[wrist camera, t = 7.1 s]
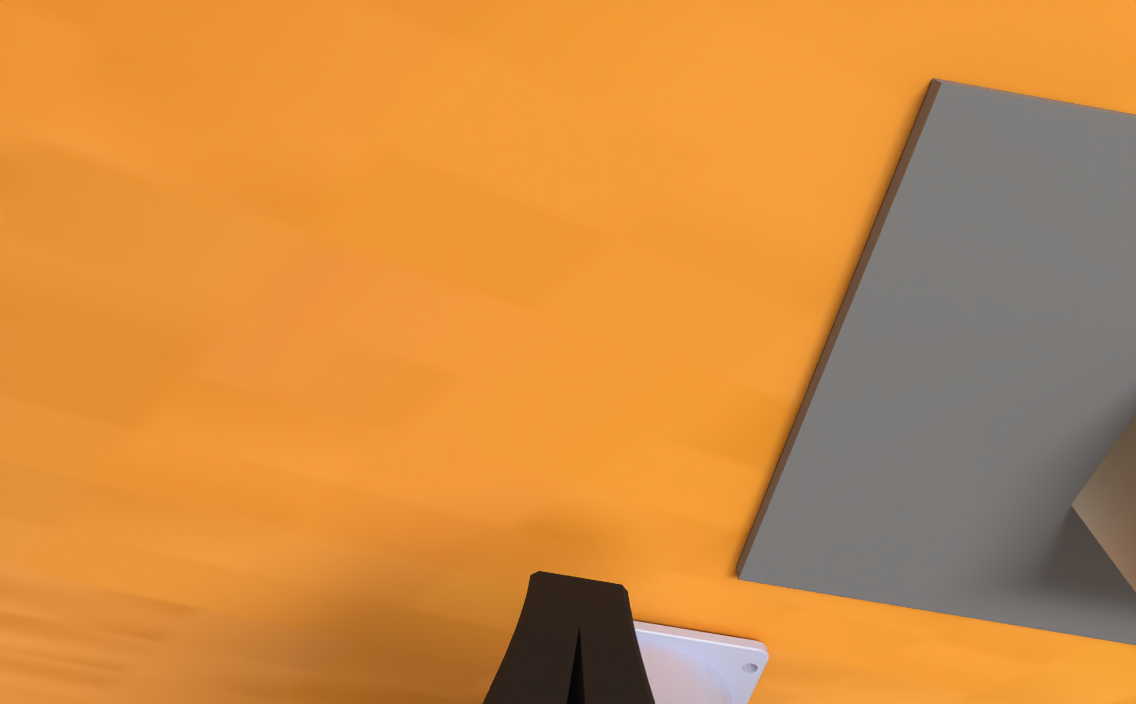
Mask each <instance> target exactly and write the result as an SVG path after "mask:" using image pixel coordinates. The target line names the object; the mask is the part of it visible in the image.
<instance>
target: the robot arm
mask: <svg viewBox="0 0 1136 704" xmlns="http://www.w3.org/2000/svg"><path fill="white" fill-rule="evenodd" d="M768 659H769V655H768V649H767V647H766V645H765V644H763V643H762V642H759V641H755V640H749V639H743V638H737V637H731V636H725V635H719V634H713V633H706V632H700V631H694V630H688V629H682V628H676V627H670V626H664V625H657V624H651V623H645V622H639V621H633V618H632V613H631V608H630V603H629V597H628V591H627V590H626V589H625V588H624V587H623V585H620V584H614V583H608V582H602V581H596V580H590V579H584V578H578V577H572V576H566V575H560V574H554V573H548V572H542V571H538V572H536V573H534V574H532V575H530V581H529V586H528V591H527V595H526V599H525V602H524V606H523V609H522V612H521V615H520V618H519V621H518V624H517V626H516V629H515V632H514V634H513V637H512V639H511V642H510V644H509V647H508V649H507V652H506V654H505V657H504V659H503V661H502V663H501V665H500V667H499V670H498V672H497V674H496V676H495V678H494V680H493V682H492V685H491V687H490V689H489V691H488V693H487V695H486V698H485V700H484V702H483V704H747V703H748V701H749V699H750V697H751V695H752V693H753V691H754V689H755V687H756V685H757V683H758V681H759V678H760V676H761V674H762V672H763V670H764V668H765V666H766V664H767V662H768Z"/></svg>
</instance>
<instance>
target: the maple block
mask: <svg viewBox="0 0 1136 704" xmlns="http://www.w3.org/2000/svg"><path fill="white" fill-rule="evenodd" d="M1071 505H1072V507H1073V508H1074V510H1075V511H1076V512H1077V514H1078V515H1079V516H1080V518H1081V519H1082V520H1083V522H1084V523H1085V524H1086V526H1087V527H1088V529H1089V530H1090V531H1091V533H1092V534H1093V535H1094V537H1095V538H1096V539H1097V541H1098V542H1099V543H1100V545H1101V546H1102V547H1103V549H1104V550H1105V552H1106V553H1107V554H1108V556H1109V557H1110V558H1111V560H1112V561H1113V562H1114V564H1115V565H1116V566H1117V568H1118V569H1119V571H1120V572H1121V573H1122V575H1123V576H1124V577H1125V579H1126V580H1127V581H1128V583H1129V584H1130V585H1131V587H1132V588H1133V589H1134V591H1135V592H1136V414H1135V415H1134V417H1133V418H1132V420H1131V421H1130V422H1129V424H1128V425H1127V427H1126V428H1125V429H1124V431H1123V432H1122V434H1121V435H1120V436H1119V438H1118V439H1117V441H1116V442H1115V444H1114V445H1113V446H1112V448H1111V449H1110V451H1109V452H1108V453H1107V455H1106V456H1105V458H1104V459H1103V460H1102V462H1101V463H1100V465H1099V466H1098V468H1097V469H1096V470H1095V472H1094V473H1093V475H1092V476H1091V477H1090V479H1089V480H1088V482H1087V483H1086V485H1085V486H1084V487H1083V489H1082V490H1081V492H1080V493H1079V494H1078V496H1077V497H1076V499H1075V500H1074V501H1073V503H1072V504H1071Z"/></svg>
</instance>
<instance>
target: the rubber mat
mask: <svg viewBox="0 0 1136 704" xmlns="http://www.w3.org/2000/svg"><path fill="white" fill-rule="evenodd" d="M1135 414H1136V115H1135V114H1129V113H1124V112H1118V111H1112V110H1107V109H1101V108H1096V107H1090V106H1085V105H1079V104H1073V103H1068V102H1062V101H1057V100H1051V99H1046V98H1040V97H1035V96H1029V95H1023V94H1018V93H1012V92H1007V91H1001V90H996V89H990V88H984V87H979V86H973V85H968V84H962V83H957V82H951V81H946V80H940V79H934V78H933V80H932V82H931V85H930V87H929V90H928V92H927V94H926V97H925V99H924V102H923V104H922V107H921V109H920V112H919V114H918V117H917V119H916V122H915V124H914V127H913V129H912V132H911V134H910V137H909V139H908V142H907V144H906V147H905V149H904V152H903V154H902V157H901V159H900V162H899V164H898V167H897V169H896V172H895V174H894V177H893V179H892V182H891V184H890V187H889V189H888V192H887V194H886V196H885V199H884V201H883V204H882V206H881V209H880V211H879V214H878V216H877V219H876V221H875V224H874V226H873V229H872V231H871V234H870V236H869V239H868V241H867V244H866V246H865V249H864V251H863V254H862V256H861V259H860V261H859V264H858V266H857V269H856V271H855V274H854V276H853V279H852V281H851V284H850V286H849V289H848V291H847V293H846V296H845V298H844V301H843V303H842V306H841V308H840V311H839V313H838V316H837V318H836V321H835V323H834V326H833V328H832V331H831V333H830V336H829V338H828V341H827V343H826V346H825V348H824V351H823V353H822V356H821V358H820V361H819V363H818V366H817V368H816V371H815V373H814V376H813V378H812V381H811V383H810V386H809V388H808V390H807V393H806V395H805V398H804V400H803V403H802V405H801V408H800V410H799V413H798V415H797V418H796V420H795V423H794V425H793V428H792V430H791V433H790V435H789V438H788V440H787V443H786V445H785V448H784V450H783V453H782V455H781V458H780V460H779V463H778V465H777V468H776V470H775V473H774V475H773V478H772V480H771V483H770V485H769V487H768V490H767V492H766V495H765V497H764V500H763V502H762V505H761V507H760V510H759V512H758V515H757V517H756V520H755V522H754V525H753V527H752V530H751V532H750V535H749V537H748V540H747V542H746V545H745V547H744V550H743V552H742V555H741V557H740V560H739V562H738V565H737V573H738V579H739V580H745V581H751V582H757V583H763V584H769V585H775V586H781V587H787V588H793V589H799V590H805V591H811V592H817V593H823V594H829V595H835V596H842V597H848V598H854V599H860V600H866V601H872V602H878V603H884V604H890V605H896V606H902V607H908V608H914V609H920V610H926V611H932V612H938V613H945V614H951V615H957V616H963V617H969V618H975V619H981V620H987V621H993V622H999V623H1005V624H1011V625H1017V626H1023V627H1029V628H1035V629H1042V630H1048V631H1054V632H1060V633H1066V634H1072V635H1078V636H1084V637H1090V638H1096V639H1102V640H1108V641H1114V642H1120V643H1126V644H1132V645H1136V592H1135V591H1134V589H1133V588H1132V587H1131V585H1130V584H1129V583H1128V581H1127V580H1126V579H1125V577H1124V576H1123V575H1122V573H1121V572H1120V571H1119V569H1118V568H1117V566H1116V565H1115V564H1114V562H1113V561H1112V560H1111V558H1110V557H1109V556H1108V554H1107V553H1106V552H1105V550H1104V549H1103V547H1102V546H1101V545H1100V543H1099V542H1098V541H1097V539H1096V538H1095V537H1094V535H1093V534H1092V533H1091V531H1090V530H1089V529H1088V527H1087V526H1086V524H1085V523H1084V522H1083V520H1082V519H1081V518H1080V516H1079V515H1078V514H1077V512H1076V511H1075V510H1074V508H1073V507H1072V505H1071V504H1072V503H1073V501H1074V500H1075V499H1076V497H1077V496H1078V494H1079V493H1080V492H1081V490H1082V489H1083V487H1084V486H1085V485H1086V483H1087V482H1088V480H1089V479H1090V477H1091V476H1092V475H1093V473H1094V472H1095V470H1096V469H1097V468H1098V466H1099V465H1100V463H1101V462H1102V460H1103V459H1104V458H1105V456H1106V455H1107V453H1108V452H1109V451H1110V449H1111V448H1112V446H1113V445H1114V444H1115V442H1116V441H1117V439H1118V438H1119V436H1120V435H1121V434H1122V432H1123V431H1124V429H1125V428H1126V427H1127V425H1128V424H1129V422H1130V421H1131V420H1132V418H1133V417H1134V415H1135Z"/></svg>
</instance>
